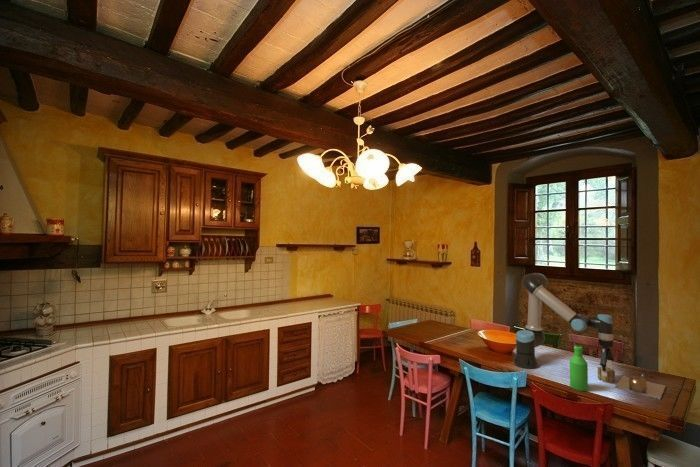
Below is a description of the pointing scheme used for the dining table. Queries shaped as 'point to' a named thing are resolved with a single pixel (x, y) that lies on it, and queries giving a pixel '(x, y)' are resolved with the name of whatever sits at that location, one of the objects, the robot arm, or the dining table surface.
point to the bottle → (578, 371)
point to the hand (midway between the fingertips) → (607, 373)
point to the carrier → (641, 386)
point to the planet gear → (610, 375)
